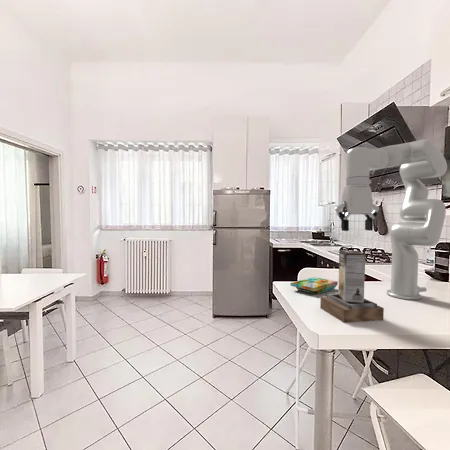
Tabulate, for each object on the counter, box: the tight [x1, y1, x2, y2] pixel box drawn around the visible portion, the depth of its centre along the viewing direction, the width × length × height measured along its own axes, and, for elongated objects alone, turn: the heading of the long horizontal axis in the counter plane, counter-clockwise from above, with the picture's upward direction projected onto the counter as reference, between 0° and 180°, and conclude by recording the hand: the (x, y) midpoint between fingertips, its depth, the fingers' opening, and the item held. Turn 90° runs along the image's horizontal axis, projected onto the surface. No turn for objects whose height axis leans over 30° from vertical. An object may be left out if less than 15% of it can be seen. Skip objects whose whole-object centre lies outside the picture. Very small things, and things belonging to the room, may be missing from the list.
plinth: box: [319, 293, 385, 323], centre depth 94 cm, size 14×14×5 cm
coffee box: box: [337, 249, 366, 303], centre depth 94 cm, size 9×6×16 cm
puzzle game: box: [290, 276, 339, 295], centre depth 126 cm, size 12×5×20 cm
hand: (357, 230), depth 100 cm, fingers open, 9 cm apart
